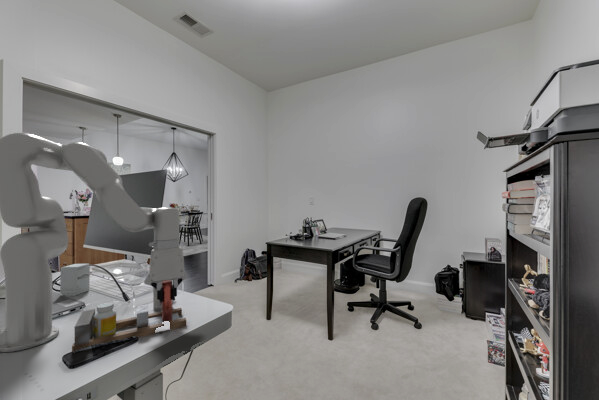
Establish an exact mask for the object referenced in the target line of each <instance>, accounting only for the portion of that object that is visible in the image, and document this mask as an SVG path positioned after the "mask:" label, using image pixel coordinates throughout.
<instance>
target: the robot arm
mask: <svg viewBox="0 0 599 400" xmlns="http://www.w3.org/2000/svg"><path fill="white" fill-rule="evenodd" d="M33 165H34V166H39V167H42V168H46V169H54V170H60V171H61V170H63V171H70V172H73V173H74V174H75V175H76V176H77V177H78V178H79V179H80V180H81V181H82V182H83V183H84V184H85V185H86V187H88V188H89V189H90V190H91V191H92V192H93V193H94V194H95V198H96V199H97V201H98V202H99V204H100V205H101V207H102V208H103V209H104V211H105V212H106V213H107V215H109V217H111V218H112V219H113V221H114V222H116V223H117V224H118V225H119V226H120V227H121V228H122V229H124V230H125V231H127V232H130V233H131V232H132V233H137V232H142V231H145V230H149V229H153V241H151V242H148V247H151V248H153V249H152V250H151V252H150V258H149V272H148V274H147V275H146V277H145V278H144V280H143V283H144V284H145V285H148V286H151V287H152V288H153V287H154V288H155V289H156V290H157V300H159V301H160V303H162V288H161V282H162V281H166V280H172V301H176V297H178V287H179V285H180V284H182V282H183V281H185V280H187V279H188V278H189V274H188V272H187V271H186V269H185V260H184V259H185V258H184V251H183V247H181V246H180V211H179V209H178V208H176V207H158V208H156V207H155V208H152V207H146V206H145V207H143V206H141V207H140V206H139V205H138V203H136V202H135V200H133V199H132V197H130V195H129V193H127V191H126V190H125V188H124V186H123V179H122V177H121V176H120V175H119V173H118V172H116V170H115V169H113V168H112V166H111V165H109V164H108V160H107V156H106V155H105V154H104V152H103V151H101V150H100V149H99V148H96V147H93V146H92V145H89V144H87V143H84V142H79V141H78V142H71V143H70V142H69V143H68V144H62V143H57V142H54V141H52V140H49V139H46V138H44V137H41V136H38V135H35V134H31V133H26V132H13V133H10V134H7V135H4V136H2V137H1V138H0V216H1V217H0V218H1V219H2V221H3V223H4V224H5V225H7V226H8V227H11V228H15V229H17V228H19V229H21V228H22V229H24V228H28V229H29V231H26V232H21V233H18V234H15V235H13V236H11V237H9V238H8V239H6V241H5V242H4V243H3V244H2V246H1V248H0V259H1V264H2V266H3V272H4V273H3V274H4V298H5V299H4V301H5V302H4V306H5V307H4V314H5V315H4V329H1V330H0V353H12V352H18V351H23V350H26V349H31V348H33V347H34V348H35V347H37V346H40V345H43V344H45V343H47V342H49V341H51V340H53V339H54V338H56V337H57V336H58V335H59V333H60V328H58V327H57V326H53V273H52V268H51V265H50V263H49V260H52V259H54V258H57V257H59V256H61V255H62V254H63V253H64V252H65V251H66V250H67V248H68V246H69V234H68V230H67V224H66V218H65V213H64V210H63V207H62V206H61V205H60V203H59V202H58V201H57V200H55V199H53V198H51V197H47V196H42V195H41V194H42V193H41V190H40V187H39V185H40V183H39V180H38V178H37V176H36V174H35V172H34V170H33V169H32V166H33ZM155 282H156V283H155Z"/></svg>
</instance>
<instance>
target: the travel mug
mask: <svg viewBox="0 0 599 400" xmlns="http://www.w3.org/2000/svg"><path fill="white" fill-rule="evenodd" d="M166 281H172V282H173V280H166ZM162 282H164V281H162ZM162 282H161V288H162ZM155 283H156V282H155ZM152 288H153V289H152V290H153V291H152V292H153V293H152V294H153V302H152V303H153V307H152V308H153V309H152V310H153V311H155V312H162V303H160V301H159V300H157V290H156V289H155V288H154V287H152Z"/></svg>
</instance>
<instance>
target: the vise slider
mask: <svg viewBox="0 0 599 400" xmlns="http://www.w3.org/2000/svg"><path fill="white" fill-rule="evenodd" d="M172 285H173V280H172V281H164V282H162V311H161V312H162V316H158V317H153V318H148V314H149V306H148V303H147V304H142V305H136V317H137V325H136V329H138V328H142V327H146V326H151V325H155V324H160V323H162V322H164V321H173V320H177V319H181V318H180V316H179V315H178V313H177V312H176V313H172V309H173V300H172Z"/></svg>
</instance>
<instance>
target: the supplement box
mask: <svg viewBox="0 0 599 400" xmlns="http://www.w3.org/2000/svg"><path fill="white" fill-rule="evenodd" d="M90 269H91V268H90V263H73V264H70V265H66V266H62V267H60V279H59V280H60V281H59V282H60V285H59V286H60V292H59V295H60V294H62V295H65V296H64V297H69V296H70V297H72V296H73V297H76V296H78V295H80V294H83V293H86V292H89V291H90V272H91V271H90Z"/></svg>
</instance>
